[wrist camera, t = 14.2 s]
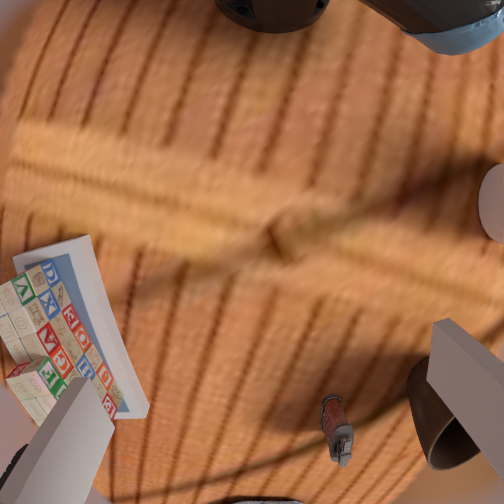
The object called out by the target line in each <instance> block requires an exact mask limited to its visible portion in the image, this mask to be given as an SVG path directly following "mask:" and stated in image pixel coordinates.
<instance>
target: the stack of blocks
mask: <svg viewBox="0 0 504 504" xmlns="http://www.w3.org/2000/svg"><path fill="white" fill-rule="evenodd" d="M0 336H1V338H2V339H3V341H4V343H5V345H6V347H7V349H8V350H9V352H10V354H11V356H12V357H13V359H14V361H15V362H16V363H17V364H18V366H17V367H16V368H15V369H14V370H13V371H12V372H11V373H10V374H9V375H8V376H7V377H6V381H7V382H8V384H9V386H10V387H11V389H12V390H13V392H14V393H15V395H16V396H17V397H18V399H19V400H20V401H21V403H22V404H23V406H24V407H25V409H26V410H27V411H28V413H29V414H30V416H31V417H32V418H33V419H34V420H35V422H36V423H37V425H38V426H39V427H40V426H41V425H42V423H43V422H44V420H45V419H46V417H47V416H48V414H49V413H50V411H51V410H52V408H53V407H54V405H55V404H56V402H57V401H58V399H59V398H60V396H61V395H62V394H63V392H64V391H65V389H66V388H67V386H68V385H69V384H70V382H71V381H72V379H73V378H74V377H90V379H91V382H92V384H93V386H94V388H95V390H96V392H97V394H98V396H99V398H100V400H101V402H102V404H103V406H104V408H105V410H106V412H107V414H108V416H109V418H110V420H111V422H113V419H114V417H115V415H116V412H117V409H118V408H119V406H120V404H121V401H122V399H123V397H124V395H123V393H122V392H121V390H120V389H119V387H118V385H117V384H116V382H115V381H114V378H113V376H112V375H111V373H110V372H109V370H108V368H107V367H106V365H105V363H104V362H103V360H102V358H101V356H100V354H99V352H98V351H97V349H96V347H95V345H94V344H93V343H92V342H91V339H90V338H89V336H88V334H87V332H86V330H85V328H84V326H83V324H82V323H81V321H80V319H79V317H78V315H77V313H76V311H75V309H74V307H73V305H72V304H71V300H70V298H69V295H68V293H67V291H66V289H65V287H64V284H63V282H62V281H61V278H60V275H59V273H58V271H57V269H56V266H55V264H54V261H53V259H50V260H48V261H46V262H43V263H41V264H39V265H37V266H35V267H33V268H31V269H29V270H26V271H24V272H22V273H20V274H19V275H17V276H15V277H13V278H12V279H10V280H9V281H7V282H5V283H3V284H2V285H0Z"/></svg>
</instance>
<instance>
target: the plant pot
mask: <svg viewBox="0 0 504 504" xmlns="http://www.w3.org/2000/svg"><path fill="white" fill-rule="evenodd" d="M428 365H429V357H428V358H425V359H423V360H422V361H420V362H419V363H418V364H417V365H416V366H415V367H414V368H413V369H412V371H411V373H410V375H409V377H408V380H407V387H408V395H409V402H410V407H411V412H412V416H413V420H414V424H415V428H416V431H417V435H418V438H419V441H420V444H421V446H422V449H423V452H424V454H425V457H426V459H427V462H428V464H429V466H430V467H431V468H432V469H434V470H440V471H441V470H449V469H452V468H455V467H457V466H460V465H462V464H464V463H466V462H467V461H469V460H470V459H472V458H473V457H475V456H476V455H477V454H479V453H480V452H481V450H480V449H479V448H478V446H477V445H476V444H475V442H474V441H473V439H472V438H471V437H470V435H469V434H468V433H467V431H466V430H465V429H464V427H463V426H462V425H461V424H460V422H459V421H458V420H457V418H456V417H455V416H454V414H453V413H452V412H451V410H450V409H449V408H448V407H447V405H446V404H445V403H444V401H443V400H442V399H441V398H440V396H439V395H438V394H437V393H436V391H435V390H434V389H433V388H432V386H431V385H430V384H429V383H428V381H427V380H426V379H427V372H428Z"/></svg>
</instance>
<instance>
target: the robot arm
mask: <svg viewBox="0 0 504 504" xmlns="http://www.w3.org/2000/svg"><path fill="white" fill-rule="evenodd" d="M329 1H330V0H215V2H216V4H217V5H218V7H219V8H220V10H221V11H222V12H223V13H224V14H225V15H226V16H227V17H228V18H230V19H231V20H232V21H234V22H236V23H237V24H239V25H241V26H244V27H246V28H249V29H252V30H256V31H260V32H267V33H285V32H292V31H296V30H300V29H302V28H305V27H307V26H309V25H311V24H312V23H314V22H315V21H316V20H317V19H319V18H320V16H321V15H322V14H323V12H324V11H325V9H326V7H327V5H328V3H329ZM359 1H360V2H362V3H364V4H365V5H367V6H368V7H370V8H371V9H373V10H375V11H376V12H378V13H379V14H381V15H382V16H384V17H385V18H387V19H388V20H389V21H391V22H392V23H394V24H395V25H397V26H398V27H399V28H400V29H401V31H402V32H404V33H405V34H407V35H409V36H412V37H414V38H415V39H417V40H418V41H420V42H421V43H422V44H424V45H425V46H427V47H428V48H429V49H431V50H432V51H434V52H436V53H439V54H445V55H451V56H454V55H461V54H465V53H469V52H471V51H474V50H476V49H478V48H480V47H482V46H484V45H486V44H488V43H489V42H491V41H492V40H494V39H495V38H496V37H498V36H499V35H500V34H501V33H502V32H503V31H504V0H359ZM426 380H427V381H428V383H429V384H430V385H431V386H432V388H433V389H434V390H435V391H436V393H437V394H438V395H439V396H440V398H441V399H442V400H443V401H444V403H445V404H446V405H447V407H448V408H449V409H450V410H451V412H452V413H453V414H454V416H455V417H456V418H457V420H458V421H459V422H460V424H461V425H462V426H463V427H464V429H465V430H466V431H467V433H468V434H469V435H470V437H471V438H472V439H473V441H474V442H475V444H476V445H477V446H478V448H479V449H480V450H481V452H482V453H483V454H484V456H485V457H486V459H487V460H488V461H489V463H490V464H491V466H492V467H493V468H494V470H495V471H496V473H497V474H498V475H499V477H500V478H501V480H502V481H503V483H504V363H503V362H502V361H501V360H499V359H498V358H497V357H496V356H495V355H494V354H492V353H491V352H490V351H489V350H488V349H487V348H485V347H484V346H483V345H482V344H481V343H479V342H478V341H477V340H476V339H475V338H473V337H472V336H471V335H470V334H468V333H467V332H466V331H465V330H464V329H462V328H461V327H460V326H459V325H457V324H456V323H455V322H454V321H452V320H451V319H450V318H446V319H443V320H440V321H437V322H434V323H433V330H432V340H431V349H430V357H429V365H428V372H427V379H426ZM114 429H115V427H114V425H113V424H112V422H111V420H110V418H109V416H108V414H107V412H106V410H105V408H104V406H103V404H102V402H101V400H100V398H99V396H98V394H97V392H96V390H95V388H94V386H93V384H92V382H91V379H90V377H74V378H73V379H72V381H71V382H70V384H69V385H68V386H67V388H66V389H65V391H64V392H63V394H62V395H61V396H60V398H59V399H58V401H57V402H56V404H55V405H54V407H53V408H52V410H51V411H50V413H49V414H48V416H47V417H46V419H45V420H44V422H43V423H42V425H41V426H40V428H39V429H38V431H37V432H36V434H35V435H34V437H33V438H32V440H31V441H30V443H29V444H26V445H25V446H23V447H22V448H21V449H20V450H19V451H17V453H16V454H15V456H14V457H13V459H12V461H11V464H9V465H8V467H7V469H6V472H4V473H3V475H2V477H1V478H0V504H85V501H86V498H87V495H88V493H89V490H90V488H91V485H92V483H93V480H94V478H95V475H96V473H97V470H98V468H99V465H100V463H101V460H102V458H103V455H104V453H105V451H106V448H107V446H108V443H109V441H110V439H111V436H112V434H113V432H114Z"/></svg>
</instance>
